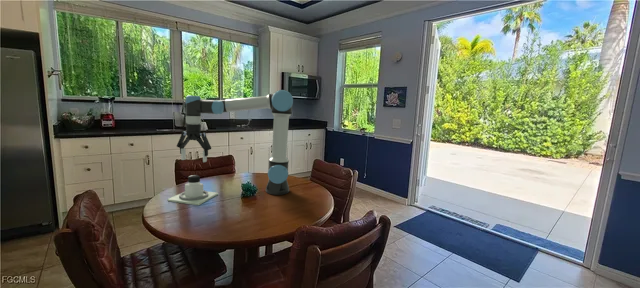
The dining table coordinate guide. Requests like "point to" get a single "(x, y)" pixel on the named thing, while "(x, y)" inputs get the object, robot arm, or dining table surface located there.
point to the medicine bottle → (194, 187)
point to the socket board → (195, 201)
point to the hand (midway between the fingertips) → (194, 160)
